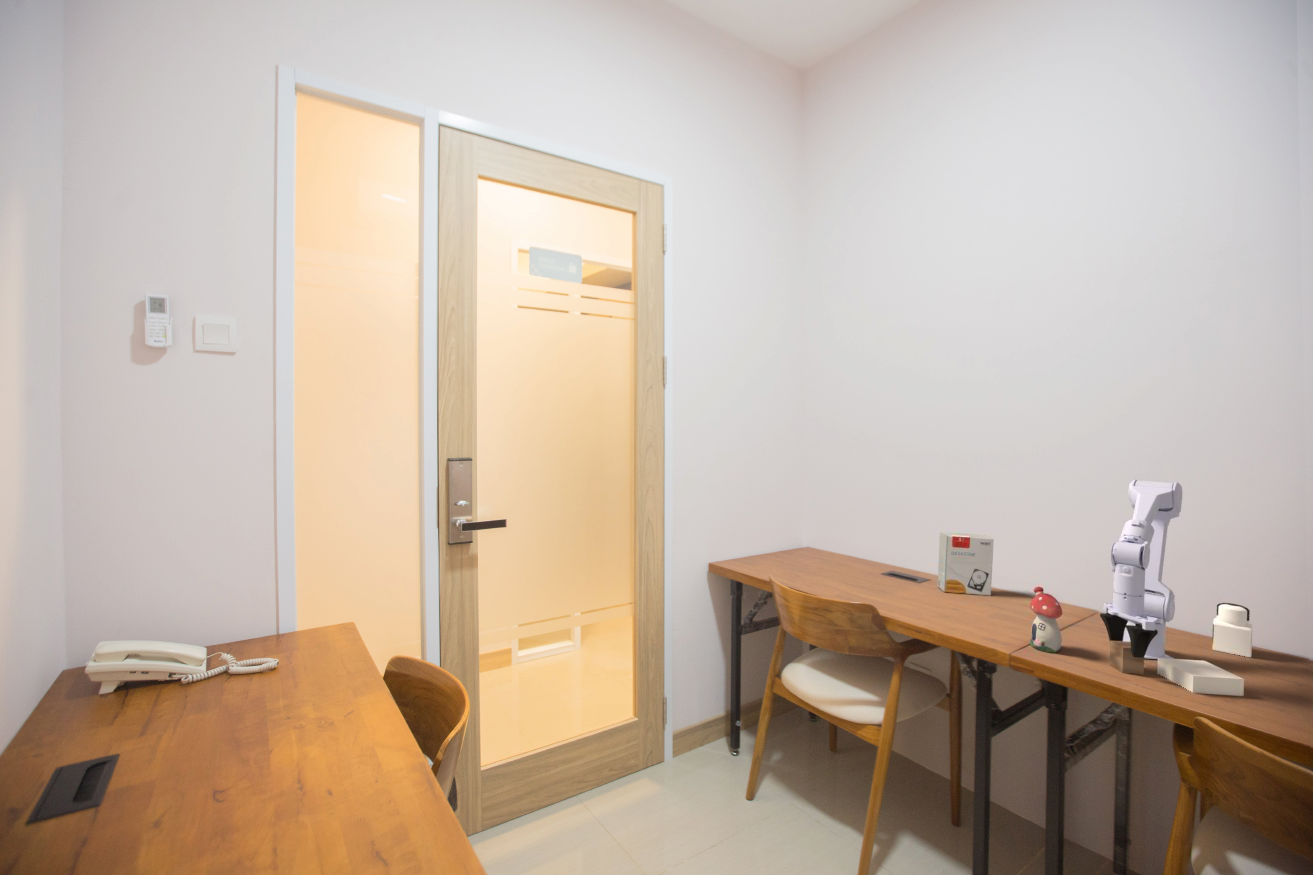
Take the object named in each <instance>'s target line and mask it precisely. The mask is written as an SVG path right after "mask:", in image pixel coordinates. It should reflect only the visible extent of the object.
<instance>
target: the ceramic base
mask: <svg viewBox="0 0 1313 875" xmlns="http://www.w3.org/2000/svg"><path fill="white" fill-rule="evenodd" d="M1156 674H1157V675H1159V674H1160V675H1159V676H1160V677H1162V676H1163V677H1162V678H1164V677H1165V678H1164V679H1166V678H1167V679H1166V680H1168V679H1169V680H1168V681H1170V680H1171V681H1170V682H1172V681H1173V682H1172V683H1174V682H1175V683H1177V684H1178V685H1177V684H1176V685H1177V686H1179V685H1181V686H1182V687H1181V686H1180V687H1181V688H1183V687H1184V688H1183V689H1185V688H1186V689H1187V690H1186V689H1185V690H1186V691H1188V690H1189V691H1188V692H1190V691H1191V692H1190V693H1192V694H1203V695H1205V694H1207V695H1218V696H1219V695H1220V696H1235V697H1236V696H1237V697H1244V692H1245V690H1244V688H1245V678H1244V677H1240V676H1238V675H1236V674H1233V673H1231V672H1230V671H1228V670H1225V669H1223V668H1221V667H1220V666H1217V665H1215V664H1213V663H1210V662H1208V661H1206V660H1202V659H1201V660H1198V659H1197V660H1195V659H1185V658H1184V659H1182V658H1181V659H1180V658H1174V659H1166V658H1158V659H1157V670H1156ZM1175 683H1174V684H1175Z"/></svg>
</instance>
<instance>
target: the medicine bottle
mask: <svg viewBox="0 0 1313 875" xmlns="http://www.w3.org/2000/svg"><path fill="white" fill-rule="evenodd" d="M1252 642H1253V625H1252V624H1251V623H1250V609H1249V608H1248V607H1247V606H1244V605H1240V604H1237V603H1231V602H1220V603H1218V604H1216V617H1214V618H1213V622H1212V642H1211V643H1212V644H1211V648H1212V651H1216V652H1221V653H1225V654H1230V655H1231V654H1232V655H1234V654H1235V655H1236V656H1239V655H1240V657H1244V656H1245V658H1249V657H1250V658H1252V650H1253V647H1252V646H1253V643H1252ZM1235 655H1234V656H1235Z"/></svg>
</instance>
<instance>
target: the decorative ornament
mask: <svg viewBox="0 0 1313 875" xmlns="http://www.w3.org/2000/svg"><path fill="white" fill-rule="evenodd" d="M1044 590H1045V589H1044V588H1043V587H1041V586H1036V587H1034V588H1033V593H1034V594H1035V596H1034V598H1032V600H1031V602H1030V604H1029V605H1030V606H1029V607H1030V609H1031V611H1032V612H1033V613H1034V614H1036V616H1035V619H1034V620H1033V622H1032V624H1031V629H1030V634H1031V638H1030V640H1029V644H1030V646H1031V647H1032V648H1033V649H1034V650H1038V651H1040V652H1046V653H1057V652H1059V650H1060V649H1061V647H1062V641H1063V640H1062V639H1063V637H1062V636H1063V635H1062V632H1061V629H1060V627H1059V624H1058V621H1057V619H1059V618H1061V616H1063V610H1062V606H1061V604H1060V602H1059V601H1058V599H1056V597H1054V596H1053V595H1052V594H1049V593H1044Z"/></svg>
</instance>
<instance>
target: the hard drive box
mask: <svg viewBox="0 0 1313 875" xmlns="http://www.w3.org/2000/svg"><path fill="white" fill-rule="evenodd" d="M994 541H995V540H994V538H993V537H991V536H988V535H986V534H975V533H960V532H943V531H942V532H939V546H938V547H939V549H938V570H937V571H938V572H937V587H938V588H939V589H940V591H942V592H943V593H953V594H969V595H978V596H990V597H991V596H992V578H993V557H994Z"/></svg>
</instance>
